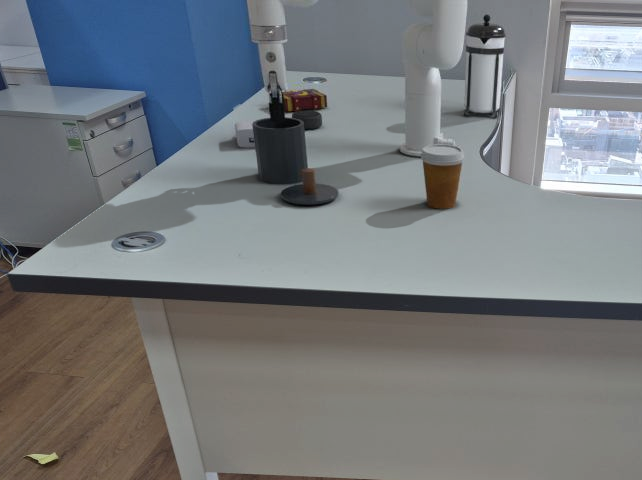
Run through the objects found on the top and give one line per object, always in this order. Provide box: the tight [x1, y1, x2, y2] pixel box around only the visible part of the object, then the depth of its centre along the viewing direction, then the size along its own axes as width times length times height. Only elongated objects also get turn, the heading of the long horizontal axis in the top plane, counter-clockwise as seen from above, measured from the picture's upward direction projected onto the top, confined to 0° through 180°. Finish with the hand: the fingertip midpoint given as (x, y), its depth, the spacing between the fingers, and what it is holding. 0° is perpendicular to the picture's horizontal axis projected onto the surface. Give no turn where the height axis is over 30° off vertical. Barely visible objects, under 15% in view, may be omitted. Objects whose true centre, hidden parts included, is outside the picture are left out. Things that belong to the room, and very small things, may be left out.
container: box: [252, 116, 309, 185], centre depth 155 cm, size 12×12×12 cm
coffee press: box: [463, 14, 507, 119], centre depth 214 cm, size 17×16×30 cm
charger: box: [234, 120, 255, 148], centre depth 183 cm, size 5×9×15 cm
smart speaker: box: [291, 109, 323, 130], centre depth 198 cm, size 9×9×4 cm
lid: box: [280, 167, 339, 206], centre depth 144 cm, size 13×13×6 cm
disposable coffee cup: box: [420, 144, 466, 210], centre depth 142 cm, size 10×10×12 cm
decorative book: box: [282, 88, 328, 112], centre depth 219 cm, size 11×16×5 cm
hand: (278, 116), depth 151 cm, fingers open, 9 cm apart
